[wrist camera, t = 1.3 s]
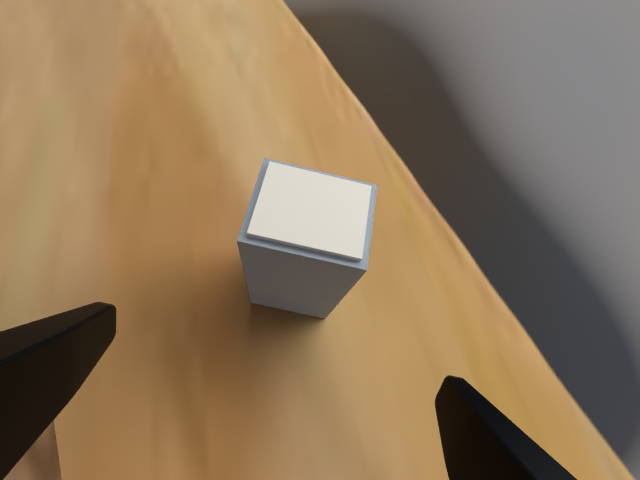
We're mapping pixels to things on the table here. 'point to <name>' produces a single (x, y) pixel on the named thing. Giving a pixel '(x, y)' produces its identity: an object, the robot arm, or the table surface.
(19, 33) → the table surface
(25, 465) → the block
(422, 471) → the table surface
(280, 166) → the tin
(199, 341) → the table surface
